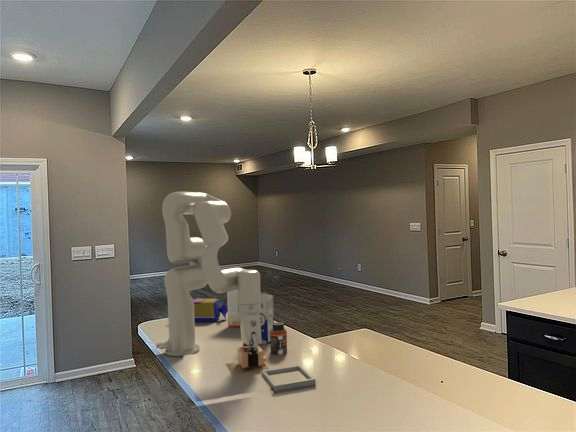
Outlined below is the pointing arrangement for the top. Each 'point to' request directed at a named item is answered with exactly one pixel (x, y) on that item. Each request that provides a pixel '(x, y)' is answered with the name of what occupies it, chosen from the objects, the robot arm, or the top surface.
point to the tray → (291, 385)
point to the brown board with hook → (237, 368)
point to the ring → (243, 356)
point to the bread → (208, 310)
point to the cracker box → (233, 309)
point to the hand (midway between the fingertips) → (250, 361)
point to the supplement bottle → (278, 339)
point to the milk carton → (266, 317)
